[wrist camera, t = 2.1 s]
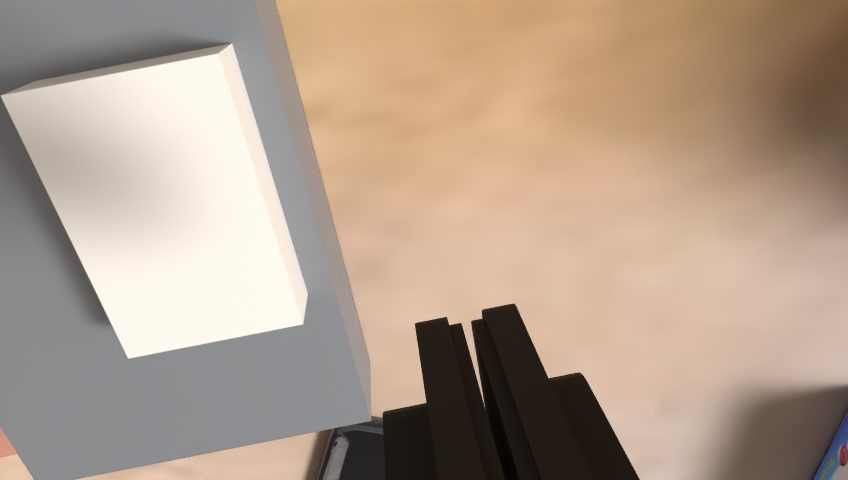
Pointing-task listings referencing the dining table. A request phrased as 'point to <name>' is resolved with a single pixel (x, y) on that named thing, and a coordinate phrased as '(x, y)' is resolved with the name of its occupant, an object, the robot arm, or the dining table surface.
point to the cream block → (166, 197)
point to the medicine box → (836, 456)
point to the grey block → (79, 303)
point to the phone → (354, 452)
